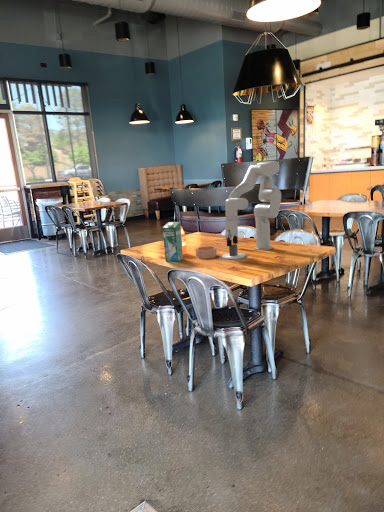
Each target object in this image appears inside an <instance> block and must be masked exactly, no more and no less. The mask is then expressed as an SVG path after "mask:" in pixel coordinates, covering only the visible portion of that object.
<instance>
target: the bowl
mask: <svg viewBox="0 0 384 512" xmlns="http://www.w3.org/2000/svg"><path fill="white" fill-rule="evenodd" d="M217 250H218V249H217V247H216V246H212V245H211V246H209V245H206V246H199V247H197V248H195V257H197V258H196V259H204V260H205V259H206V260H207V259H213V258H215V257H217V255H218V253H217Z"/></svg>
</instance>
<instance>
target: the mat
mask: <svg viewBox="0 0 384 512" xmlns="http://www.w3.org/2000/svg"><path fill="white" fill-rule="evenodd" d="M228 253H229V252H228ZM228 253H227V252H226V254H228ZM244 254H245V257H244V258H241V259H224V258H222V255H221V256H219V257H218V258H217V260H223V261H224V260H225V261H240V262H241V261H243V260H244V259H246V258H248V257H249V256H252V255H251V254H249V253H244Z"/></svg>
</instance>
